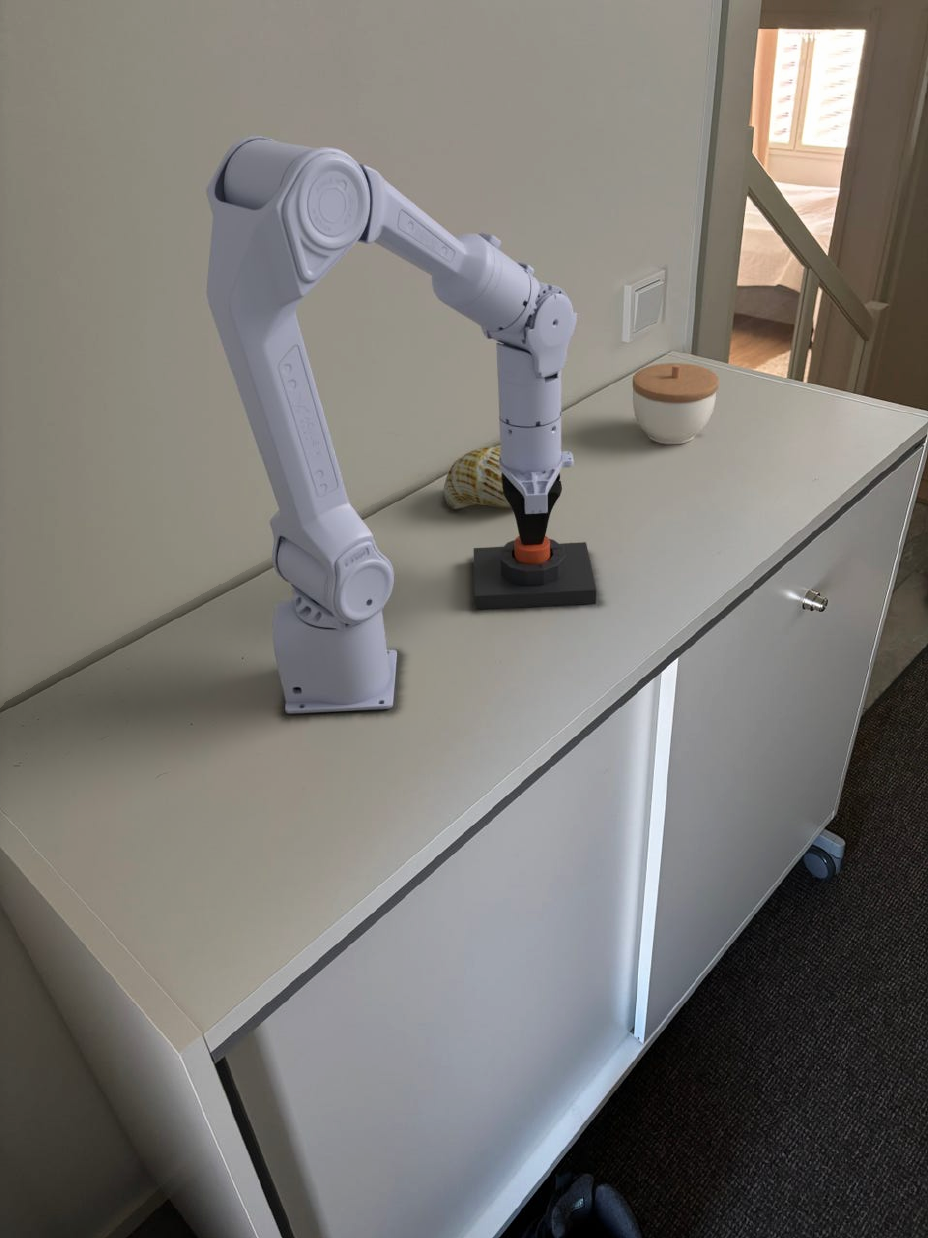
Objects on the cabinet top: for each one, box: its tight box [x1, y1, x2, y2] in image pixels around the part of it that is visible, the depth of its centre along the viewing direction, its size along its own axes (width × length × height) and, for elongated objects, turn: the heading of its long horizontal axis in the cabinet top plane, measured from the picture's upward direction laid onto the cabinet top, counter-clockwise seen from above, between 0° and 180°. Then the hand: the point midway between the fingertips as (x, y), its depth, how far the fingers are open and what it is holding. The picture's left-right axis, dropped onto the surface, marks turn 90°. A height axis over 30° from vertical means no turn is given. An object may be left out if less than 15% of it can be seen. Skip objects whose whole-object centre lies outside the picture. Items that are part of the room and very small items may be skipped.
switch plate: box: [473, 538, 597, 611], centre depth 94 cm, size 12×9×4 cm
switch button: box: [514, 535, 550, 565], centre depth 93 cm, size 4×4×2 cm
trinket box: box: [632, 362, 720, 445], centre depth 119 cm, size 11×11×9 cm
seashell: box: [443, 444, 512, 510], centre depth 108 cm, size 10×10×10 cm
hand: (532, 541), depth 92 cm, fingers closed
